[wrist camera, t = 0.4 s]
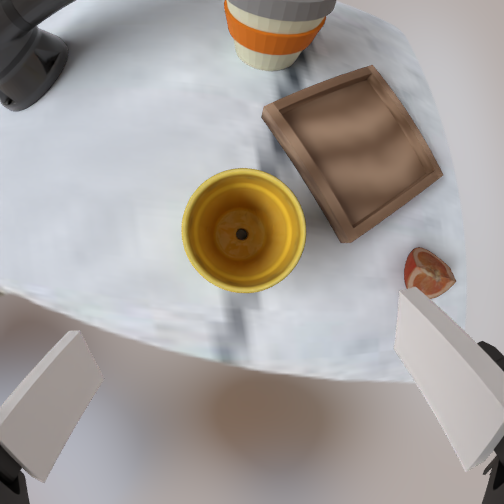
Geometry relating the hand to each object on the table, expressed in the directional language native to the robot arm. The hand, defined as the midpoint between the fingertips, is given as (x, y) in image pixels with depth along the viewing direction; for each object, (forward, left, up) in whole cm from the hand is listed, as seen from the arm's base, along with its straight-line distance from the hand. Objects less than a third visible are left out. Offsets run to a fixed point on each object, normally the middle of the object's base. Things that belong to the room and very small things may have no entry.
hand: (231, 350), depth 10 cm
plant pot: (-4, +4, -23) cm, 23 cm away
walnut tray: (-6, +23, -22) cm, 32 cm away
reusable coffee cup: (-25, +21, -23) cm, 39 cm away
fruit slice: (+13, +22, -23) cm, 34 cm away
